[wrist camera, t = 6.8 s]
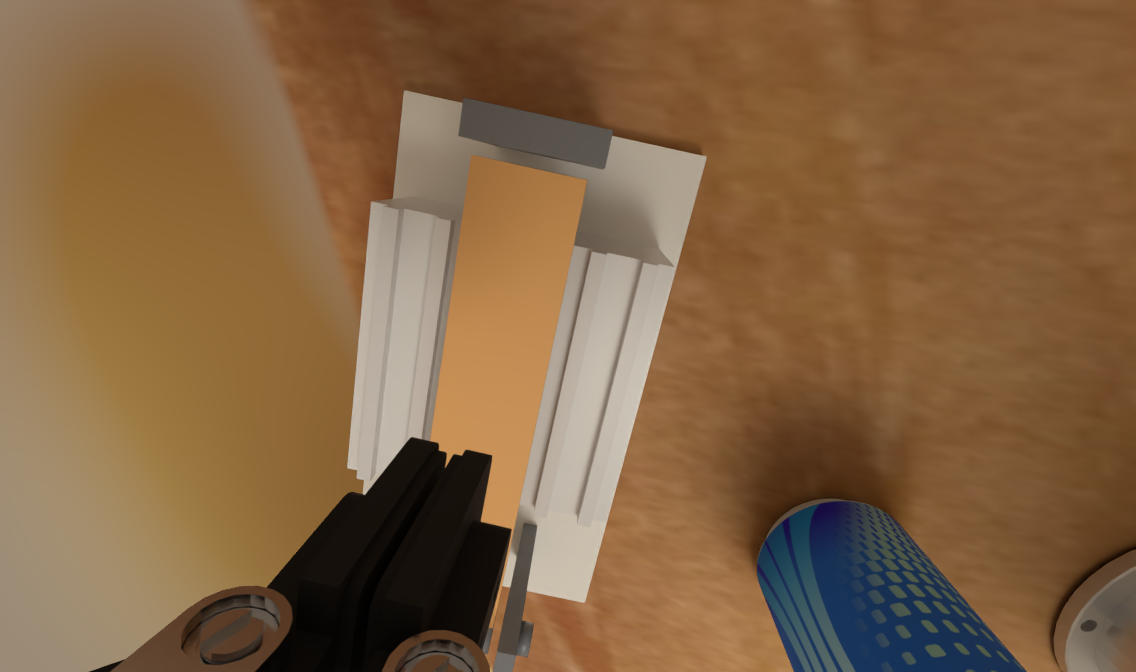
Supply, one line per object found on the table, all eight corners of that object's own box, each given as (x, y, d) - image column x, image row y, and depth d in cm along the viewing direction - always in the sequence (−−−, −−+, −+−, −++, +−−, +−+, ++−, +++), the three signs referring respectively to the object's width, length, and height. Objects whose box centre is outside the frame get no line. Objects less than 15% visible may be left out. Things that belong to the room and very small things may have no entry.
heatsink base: (585, 590, 33) (580, 751, 23) (363, 544, 32) (273, 688, 23) (702, 157, 25) (764, 148, 16) (411, 93, 25) (303, 46, 15)
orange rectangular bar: (492, 630, 25) (485, 663, 24) (411, 613, 25) (398, 645, 24) (587, 179, 19) (587, 180, 17) (479, 156, 19) (468, 154, 17)
